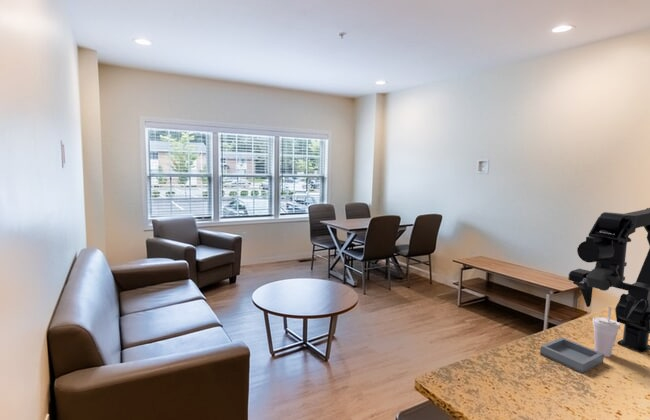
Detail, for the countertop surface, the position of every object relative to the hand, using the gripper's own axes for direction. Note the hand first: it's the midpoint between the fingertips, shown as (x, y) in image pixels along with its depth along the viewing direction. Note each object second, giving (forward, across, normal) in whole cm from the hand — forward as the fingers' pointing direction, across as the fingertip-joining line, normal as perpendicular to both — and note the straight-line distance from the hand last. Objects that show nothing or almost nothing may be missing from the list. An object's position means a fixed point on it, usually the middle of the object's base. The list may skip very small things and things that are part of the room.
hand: (606, 312), depth 103 cm
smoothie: (+13, 0, +1) cm, 13 cm away
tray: (+13, -4, -10) cm, 16 cm away
